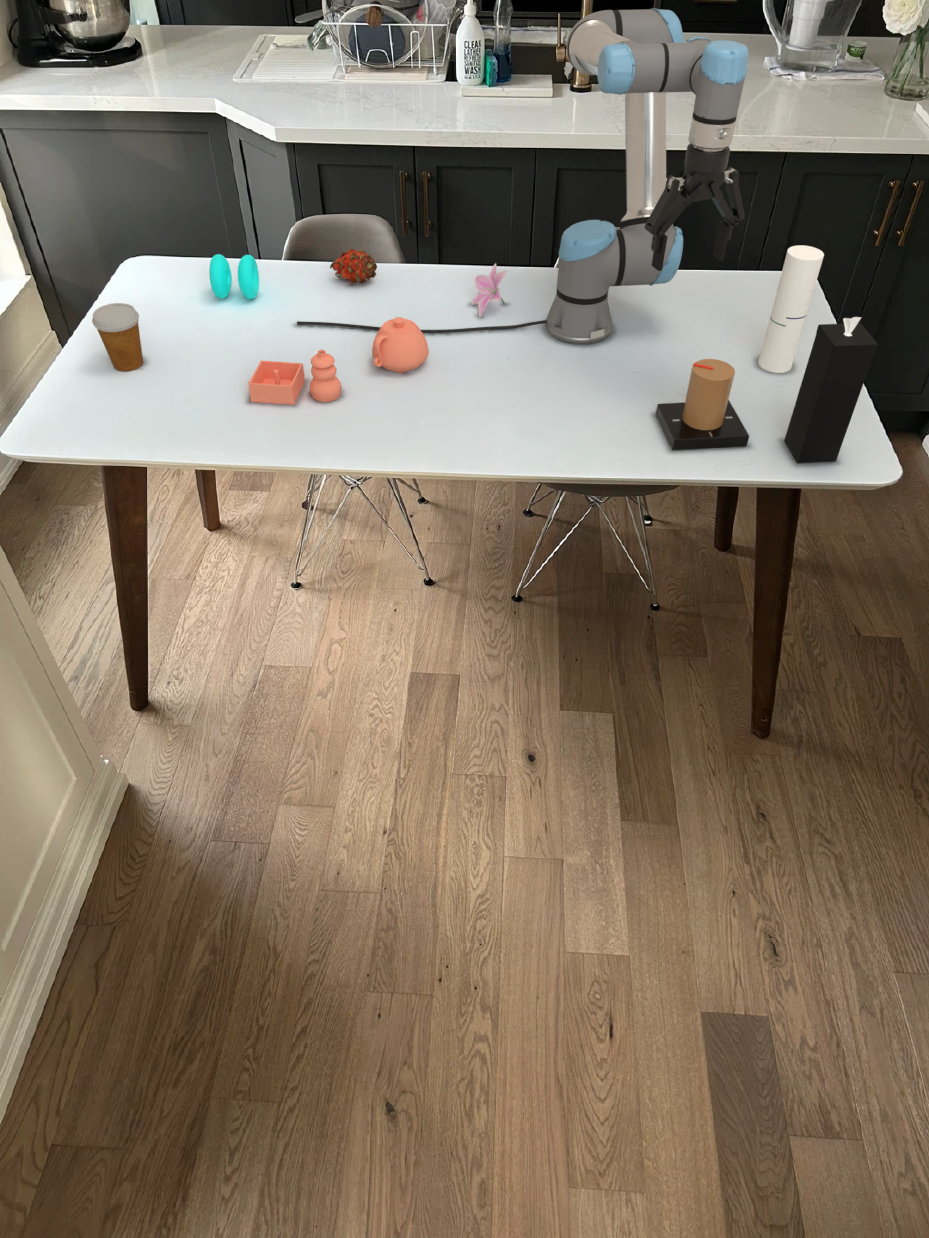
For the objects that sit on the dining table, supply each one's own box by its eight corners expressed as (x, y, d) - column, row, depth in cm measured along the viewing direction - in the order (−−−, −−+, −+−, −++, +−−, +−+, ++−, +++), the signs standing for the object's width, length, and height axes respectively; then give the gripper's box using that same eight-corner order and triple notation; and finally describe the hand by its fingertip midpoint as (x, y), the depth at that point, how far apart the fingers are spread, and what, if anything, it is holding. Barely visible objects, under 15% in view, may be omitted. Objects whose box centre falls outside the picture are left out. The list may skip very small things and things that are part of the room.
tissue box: (783, 440, 182) (823, 307, 162) (821, 439, 182) (866, 305, 162) (796, 464, 176) (840, 328, 156) (836, 462, 177) (884, 326, 157)
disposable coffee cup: (159, 359, 202) (146, 307, 194) (131, 379, 196) (116, 327, 187) (125, 349, 205) (111, 298, 196) (96, 369, 199) (80, 317, 190)
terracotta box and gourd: (251, 401, 190) (243, 358, 183) (263, 378, 197) (256, 335, 190) (336, 408, 189) (332, 365, 182) (346, 384, 195) (342, 341, 188)
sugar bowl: (440, 362, 202) (439, 319, 195) (394, 386, 195) (392, 342, 188) (401, 343, 208) (399, 300, 201) (355, 366, 201) (351, 322, 194)
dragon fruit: (381, 291, 230) (336, 294, 232) (383, 259, 231) (338, 263, 234) (371, 273, 222) (324, 276, 224) (373, 240, 223) (326, 244, 226)
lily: (476, 296, 227) (461, 268, 219) (521, 281, 223) (507, 252, 215) (477, 332, 222) (460, 305, 214) (522, 318, 217) (508, 289, 210)
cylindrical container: (792, 374, 200) (825, 262, 182) (758, 371, 201) (788, 258, 183) (790, 358, 205) (822, 247, 187) (757, 355, 206) (786, 244, 188)
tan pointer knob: (726, 413, 184) (739, 362, 176) (717, 434, 179) (730, 382, 171) (687, 404, 186) (698, 354, 178) (677, 424, 181) (688, 373, 173)
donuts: (255, 306, 220) (248, 266, 213) (213, 306, 220) (205, 265, 213) (262, 287, 227) (255, 247, 220) (221, 287, 227) (214, 247, 220)
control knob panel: (672, 450, 179) (674, 439, 177) (655, 414, 188) (657, 403, 186) (746, 446, 180) (749, 435, 178) (726, 410, 189) (729, 399, 188)
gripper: (657, 160, 157) (640, 280, 172) (781, 143, 163) (753, 261, 178) (636, 146, 161) (621, 264, 176) (757, 130, 168) (732, 246, 183)
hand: (687, 263), depth 177 cm, fingers open, 13 cm apart
